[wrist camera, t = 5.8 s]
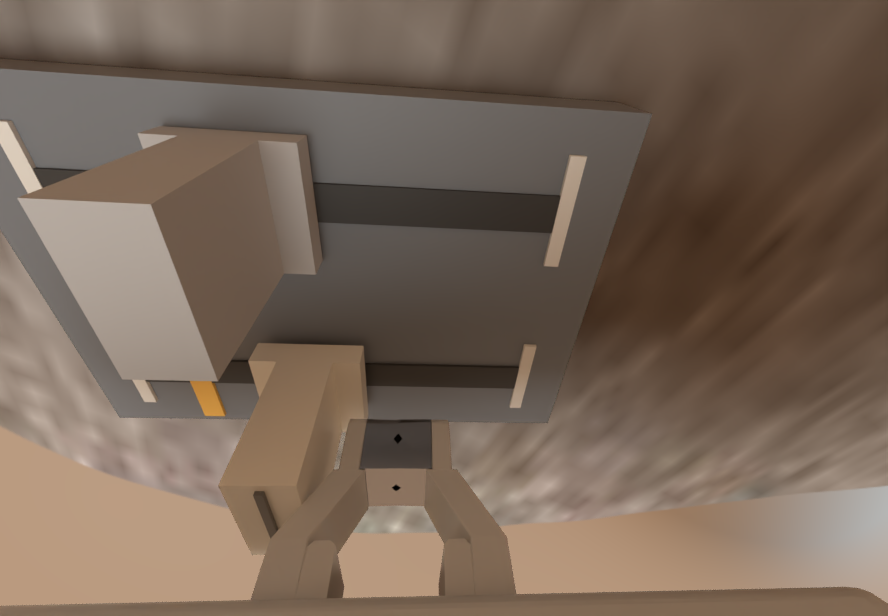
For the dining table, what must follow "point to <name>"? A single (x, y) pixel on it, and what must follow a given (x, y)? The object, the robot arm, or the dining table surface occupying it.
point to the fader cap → (291, 432)
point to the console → (311, 232)
